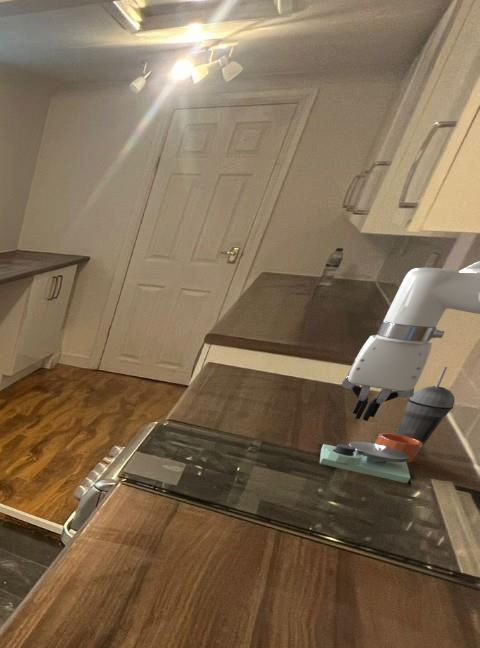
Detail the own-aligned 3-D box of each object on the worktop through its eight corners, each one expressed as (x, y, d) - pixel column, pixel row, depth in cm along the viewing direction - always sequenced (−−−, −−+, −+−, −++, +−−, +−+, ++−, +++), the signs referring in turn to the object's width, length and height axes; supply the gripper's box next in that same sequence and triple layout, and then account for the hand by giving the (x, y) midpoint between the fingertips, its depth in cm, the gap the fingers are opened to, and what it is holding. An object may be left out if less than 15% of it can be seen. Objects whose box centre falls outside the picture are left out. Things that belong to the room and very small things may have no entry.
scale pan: (398, 465, 130) (407, 450, 128) (401, 478, 123) (410, 462, 122) (341, 453, 136) (349, 438, 134) (341, 465, 129) (349, 449, 128)
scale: (403, 467, 129) (410, 454, 128) (407, 484, 121) (414, 471, 120) (320, 449, 138) (326, 437, 136) (319, 464, 129) (325, 452, 128)
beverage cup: (397, 453, 137) (443, 370, 128) (376, 442, 143) (418, 362, 134) (434, 457, 135) (483, 373, 126) (411, 445, 142) (456, 365, 133)
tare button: (352, 453, 128) (355, 446, 128) (352, 457, 126) (355, 450, 126) (334, 450, 130) (337, 442, 130) (333, 453, 128) (337, 446, 128)
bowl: (410, 458, 134) (421, 438, 132) (412, 467, 129) (424, 447, 127) (368, 450, 138) (378, 430, 136) (369, 458, 133) (380, 438, 131)
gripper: (456, 336, 115) (409, 423, 123) (353, 324, 124) (315, 406, 132) (462, 342, 110) (412, 432, 118) (353, 329, 119) (314, 413, 127)
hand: (361, 418), depth 125 cm, fingers closed
